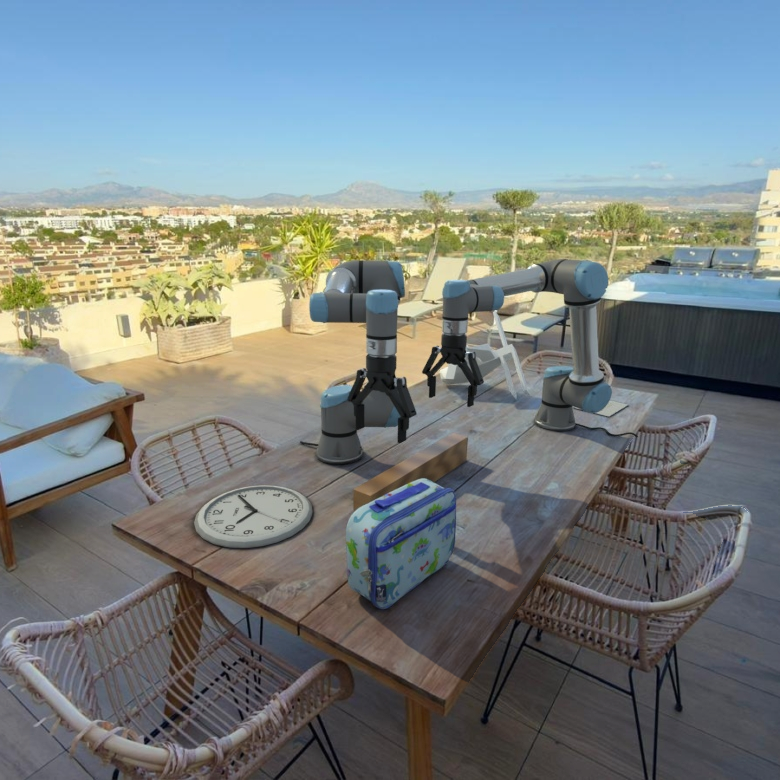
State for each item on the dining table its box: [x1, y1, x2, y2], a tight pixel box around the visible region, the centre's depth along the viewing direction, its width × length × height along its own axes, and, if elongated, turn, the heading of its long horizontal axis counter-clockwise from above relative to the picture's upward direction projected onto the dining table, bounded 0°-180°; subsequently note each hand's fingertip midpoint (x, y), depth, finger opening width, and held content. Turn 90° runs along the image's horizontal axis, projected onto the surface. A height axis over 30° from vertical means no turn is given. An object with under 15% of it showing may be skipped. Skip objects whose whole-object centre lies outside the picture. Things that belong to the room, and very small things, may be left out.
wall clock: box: [193, 484, 313, 549], centre depth 137 cm, size 30×2×30 cm
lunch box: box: [345, 478, 457, 610], centre depth 110 cm, size 26×11×21 cm, turn 134°
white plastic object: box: [438, 310, 531, 400], centre depth 245 cm, size 37×45×31 cm
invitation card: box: [573, 400, 629, 418], centre depth 226 cm, size 21×1×15 cm
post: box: [352, 432, 469, 514], centre depth 153 cm, size 50×6×8 cm, turn 143°
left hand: (380, 434), depth 134 cm, fingers open, 13 cm apart
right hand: (450, 401), depth 161 cm, fingers open, 13 cm apart
